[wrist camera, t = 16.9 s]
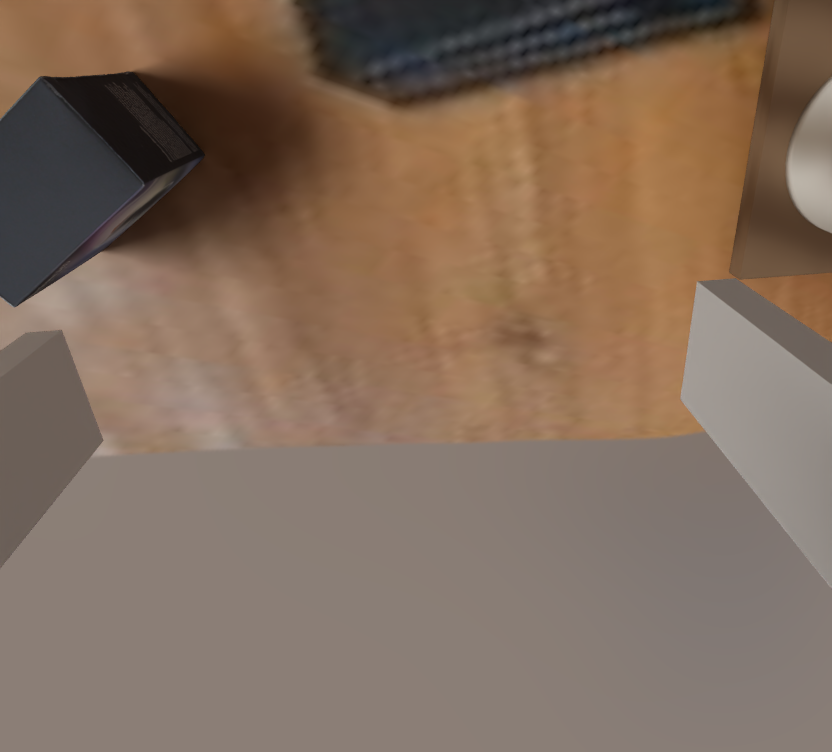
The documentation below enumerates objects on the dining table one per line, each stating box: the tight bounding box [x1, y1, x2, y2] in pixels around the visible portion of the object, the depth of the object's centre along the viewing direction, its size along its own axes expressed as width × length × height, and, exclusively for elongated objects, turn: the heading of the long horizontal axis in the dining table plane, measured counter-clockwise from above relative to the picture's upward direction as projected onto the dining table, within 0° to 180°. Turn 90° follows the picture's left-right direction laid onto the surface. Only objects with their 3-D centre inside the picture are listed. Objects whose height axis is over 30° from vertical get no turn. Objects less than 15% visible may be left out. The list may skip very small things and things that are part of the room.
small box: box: [0, 72, 205, 307], centre depth 34 cm, size 11×6×10 cm, turn 128°
